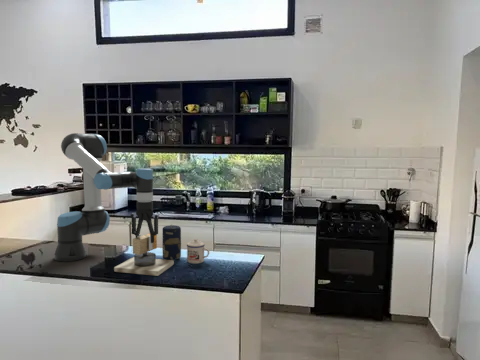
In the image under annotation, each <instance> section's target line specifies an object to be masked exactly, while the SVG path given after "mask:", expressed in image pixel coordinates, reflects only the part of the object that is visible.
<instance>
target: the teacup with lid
mask: <svg viewBox="0 0 480 360" xmlns="http://www.w3.org/2000/svg"><path fill="white" fill-rule="evenodd" d="M205 245H206V244H205V243H204V242H202V241H200V240H199V239H198V238H193V240H191V241H189V242H187V244H186V248H187V250H186V255H187V256H186V258H187V259H186V262H187V263H189V264H202V263H203V262H205V259H206V258H208V257H209V255H210V249H208V248H207V247H205ZM205 251H206V252H207V253H206V255H205Z"/></svg>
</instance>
